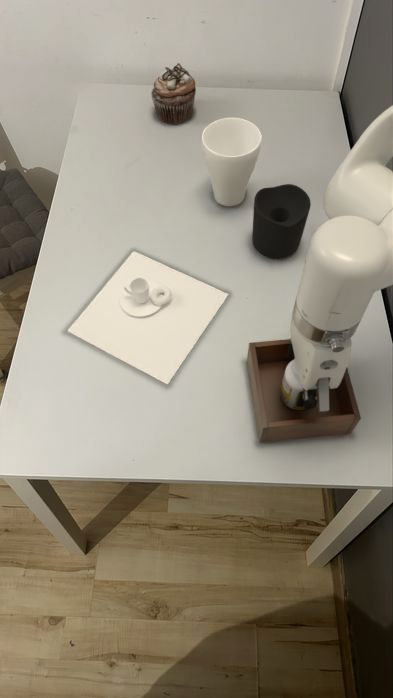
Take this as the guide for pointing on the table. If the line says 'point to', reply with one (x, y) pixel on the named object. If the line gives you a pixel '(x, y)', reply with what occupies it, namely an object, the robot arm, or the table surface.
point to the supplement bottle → (291, 386)
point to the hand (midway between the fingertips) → (302, 380)
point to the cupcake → (174, 95)
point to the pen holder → (279, 220)
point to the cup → (230, 157)
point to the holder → (286, 422)
